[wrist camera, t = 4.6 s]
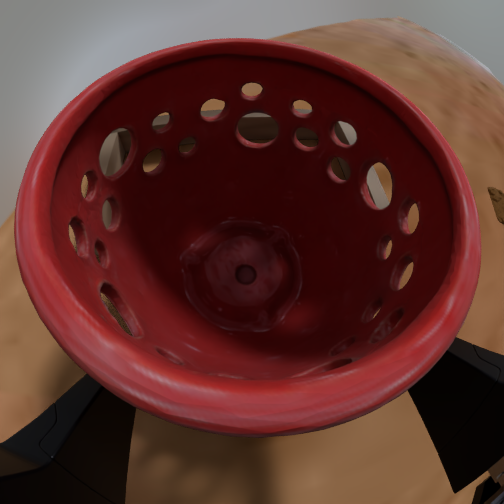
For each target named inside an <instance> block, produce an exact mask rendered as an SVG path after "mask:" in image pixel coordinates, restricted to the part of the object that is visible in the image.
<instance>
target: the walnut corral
mask: <svg viewBox="0 0 504 504" xmlns="http://www.w3.org/2000/svg"><path fill="white" fill-rule="evenodd" d="M295 110H297V111H298V112H300V113H303V114H308V113H310V112H311V111H312V110H304V109H295ZM221 111H222V110H210V111H201V115H202V116H204V117H212V116H215V115H217V114H219V113H220V112H221ZM168 122H169V115H164V116H157V117H156V118H155V119H154V121H153V125H152V127H153V129H154V130H159V129H161V128H163V127H165V126H166V124H167V123H168ZM238 131H239V134H240V135H241V136H242V137H243V138H244V139H245V140H255V139H274V138H275V137H276V136H277V134H278V126H277V123H276V122H275V120H274V119H273V118H272V117H271V116H269V115H267V114H264V113H250V114H247V115H245V116H243V117H242V118H241V119H240V120H239V122H238ZM334 131H335V134H336V136H337V138H338V139H339V140H340V142H342V143H343V144H346V145H352V144H354V143H355V141H356V139H357V137H356V132H355V130H354V128H353V127H352V126H351V125H349V124H348V123H345V122H342V121H338V122H336V124H335V126H334ZM296 138H297V139H309V140H319V139H318V136H317V135H316V133H314V132H313V131H311V130H309V129H307V128H302V127H301V128H298V129H297V131H296ZM193 143H195V139H194V138H192V137H188V138H185V139H183V140H182V141H181V142H180V144H179V145H183V144H193ZM130 148H131V136H130V133H129V132H128V130H127V129H124V128H119V129H116V130H115V131H113V132H112V133H110V134H109V136H108V137H107V138H106V139H105V141H104V143H103V145H102V148H101V151H100V156H99V160H100V166H101V169H102V171H103V174H104V175H105V176H110V175H113V174H114V173H116V172H117V171H118V170H119V169H120V168H121V167H122V165H123V162H124V158H125V153H127V152H130ZM337 158H338V160H339V163H340V165H341V168H342V170H343V173H344V175H345V178H346V180H347V179H348V178H349V176H350V168H349V165H348V164H347V163H346V162H345V161H344V160H343V159H341V158H340V157H337ZM367 188H368V192H369V195H370V197H371V199H372V201H373V203H374V204H375V205H376V206H377V207H378V208H379V209H383V208H385V207H387V206H388V205H389V202H388V199H387V197H386V194H385V192H384V190H383V187H382V185H381V183H380V180H379V178H378V176H377V174H376V171H375V169H374V167H373V166H372V167H371V168H370V170H369V172H368V175H367ZM102 216H103V222H104V224H105V227H106V229H108V227H109V225H110V222H111V206H110V204H109V202H108V201H107V200H106V201H105V203H104V205H103V209H102ZM95 255H99V254H98V252H97V250H96V249H95Z"/></svg>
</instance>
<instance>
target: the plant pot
mask: <svg viewBox="0 0 504 504" xmlns="http://www.w3.org/2000/svg"><path fill="white" fill-rule="evenodd" d="M247 83H257V84H260V85H261V86H262V88H263V90H262V92H261V93H260V94H258V95H257V96H247V95H245V94H244V93H243V92H242V87H243V86H244V85H245V84H247ZM210 99H218V100H222V101H224V102H225V107H224V109H223V110H222V111H221V112H220V113H219V114H217V115H215V116H212V117H204V116H202V115H201V107H202V105H203V104H204V103H205V102H206V101H208V100H210ZM297 100H304V101H306V102H308V103H309V104H310V105H311V106H312V111H311V112H310V113H308V114H303V113H300V112H298V111H297V110H295V109H294V106H293V103H294V102H295V101H297ZM164 112H167V113H169V122H168V123H167V124H166V126H165V127H163V128H161V129H159V130H154V129H153V127H152V125H153V121H154V119H155V118H156V117H157V116H158V115H159V114H161V113H164ZM250 113H264V114H267V115H269V116H271V117H272V118H273V119H274V120H275V122H276V123H277V126H278V134H277V136H276V137H275V138H274V139H273V140H272V141H270V142H267V143H261V144H258V143H252V142H249V141H247V140H245V139H244V138H243V137H242V136H241V135H240V134H239V131H238V122H239V120H240V119H241V118H242V117H243V116H245V115H247V114H250ZM338 121H342V122H345V123H348V124H349V125H351V126H352V127H353V128H354V130H355V132H356V137H357V139H356V141H355V143H354V144H352V145H346V144H343V143H342V142H340V140H339V139H338V138H337V136H336V134H335V131H334V126H335V124H336V122H338ZM301 127H302V128H307V129H309V130H311V131H313V132H314V133H316V135H317V136H318V139H319V140H318V144H317V145H316V146H315V147H307V146H304V145H302V144H301V143H300V142H299V141H298V140H297V138H296V131H297V129H298V128H301ZM119 128H124V129H127V130H128V132H129V133H130V136H131V148H130V152H129V154H128V156H127V159H126V161H125V162H124V164H123V165H122V167H121V168H120V169H119V170H118V171H117V172H116V173H114V174H113V175H110V176H105V175H104V174H103V171H102V169H101V166H100V160H99V156H100V151H101V148H102V145H103V143H104V141H105V139H106V138H107V137H108V136H109V134H110V133H112V132H113V131H115V130H116V129H119ZM188 137H192V138H194V139H195V145H194V147H193V148H192V149H191V150H190V151H189V152H186V153H184V152H180V151H179V144H180V142H181V141H182V140H183V139H185V138H188ZM154 149H160V150H161V154H162V158H161V161H160V163H159V165H158V166H157V167H156V168H155V169H154V170H152V171H150V172H144V170H143V159H144V158H145V156H146V155H147V154H148V153H149V152H150V151H152V150H154ZM334 157H340V158H341V159H343V160H344V161H345V162H346V163H347V164H348V165H349V168H350V176H349V178H348V179H347V180H341V179H339V178H338V177H336V176H335V174H334V173H333V171H332V169H331V161H332V159H333V158H334ZM378 162H380V163H382V164H384V165H385V166H386V168H387V169H388V170H389V172H390V174H391V179H392V198H391V202H390V204H389V205H388V206H387V207H385V208H383V209H379V208H378V207H377V206H376V205H375V204H374V203H373V201H372V199H371V197H370V195H369V192H368V188H367V175H368V172H369V170H370V168H371V167H372V166H373V165H374V164H375V163H378ZM84 175H86V176H87V180H88V190H87V194H86V198H84V197H83V196H82V192H81V183H82V179H83V177H84ZM106 200H107V201H108V202H109V204H110V206H111V222H110V225H109V227H108V229H106V227H105V224H104V222H103V216H102V209H103V205H104V203H105V201H106ZM414 203H416V204H417V207H418V211H419V222H418V225H417V227H416V229H415V231H414V232H413V233H412V234H411V233H410V231H409V228H408V214H409V210H410V208H411V206H412V205H413V204H414ZM69 224H70V226H71V227H72V229H73V232H74V234H75V239H76V244H77V253H76V251H75V249H74V246H73V244H72V243H71V241H70V237H69ZM14 236H15V247H16V255H17V261H18V265H19V269H20V273H21V277H22V281H23V283H24V285H25V287H26V289H27V291H28V294H29V297H30V299H31V301H32V303H33V305H34V307H35V309H36V311H37V313H38V315H39V317H40V319H41V320H42V322H43V323H44V325H45V326H46V328H47V329H48V330H49V332H50V333H51V335H52V336H53V338H54V339H55V340H56V342H57V343H58V344H59V346H60V347H61V348H62V349H63V350H64V351H65V353H66V354H67V355H68V356H69V357H70V358H71V359H72V360H73V361H74V362H75V363H76V364H77V365H78V366H79V367H80V368H81V369H82V370H84V371H85V372H86V373H87V374H88V375H89V376H91V377H92V378H93V379H94V380H96V381H97V382H98V383H100V384H101V385H102V386H103V387H105V388H106V389H107V390H109V391H110V392H112V393H113V394H114V395H116V396H117V397H119V398H121V399H122V400H124V401H125V402H127V403H129V404H130V405H132V406H134V407H136V408H138V409H140V410H142V411H144V412H147V413H149V414H151V415H153V416H156V417H158V418H161V419H163V420H165V421H168V422H170V423H173V424H176V425H180V426H183V427H187V428H191V429H195V430H199V431H203V432H208V433H214V434H220V435H226V436H234V437H254V438H263V437H273V436H288V435H296V434H303V433H308V432H314V431H319V430H324V429H327V428H331V427H334V426H337V425H340V424H343V423H346V422H349V421H352V420H354V419H356V418H359V417H361V416H364V415H366V414H368V413H370V412H373V411H374V410H376V409H378V408H380V407H382V406H383V405H385V404H387V403H389V402H390V401H392V400H394V399H395V398H397V397H399V396H400V395H401V394H403V393H404V392H406V391H407V390H408V389H410V388H411V387H412V386H413V385H414V384H415V383H417V382H418V381H419V380H420V379H421V378H422V377H423V376H425V375H426V374H427V373H428V372H429V371H430V370H431V368H432V367H433V366H434V365H435V364H436V363H437V362H438V361H439V359H440V358H441V357H442V356H443V355H444V353H445V352H446V351H447V349H448V348H449V347H450V345H451V344H452V343H453V341H454V339H455V337H456V335H457V333H458V332H459V330H460V328H461V327H462V325H463V323H464V321H465V319H466V316H467V314H468V311H469V309H470V306H471V304H472V301H473V297H474V294H475V291H476V288H477V283H478V278H479V272H480V264H481V234H480V224H479V216H478V211H477V207H476V203H475V199H474V195H473V192H472V189H471V187H470V184H469V181H468V179H467V176H466V174H465V172H464V169H463V167H462V165H461V163H460V161H459V159H458V158H457V156H456V154H455V153H454V151H453V150H452V148H451V147H450V145H449V143H448V142H447V141H446V139H445V138H444V137H443V135H442V134H441V133H440V131H439V130H438V129H437V128H436V126H435V125H434V124H433V123H432V122H431V121H430V120H429V119H428V117H427V116H426V115H425V114H424V113H423V112H422V111H421V110H420V109H419V108H418V107H417V106H415V105H414V104H413V103H412V102H411V101H410V100H409V99H407V98H406V97H405V96H404V95H403V94H401V93H400V92H399V91H397V90H396V89H395V88H393V87H392V86H391V85H389V84H388V83H386V82H385V81H383V80H382V79H380V78H378V77H377V76H375V75H373V74H372V73H370V72H368V71H366V70H365V69H363V68H361V67H359V66H357V65H354V64H352V63H350V62H347V61H345V60H343V59H340V58H338V57H336V56H333V55H331V54H328V53H325V52H321V51H318V50H315V49H311V48H308V47H305V46H300V45H296V44H291V43H286V42H279V41H272V40H263V39H247V38H232V39H231V38H229V39H212V40H204V41H198V42H192V43H186V44H181V45H177V46H173V47H170V48H166V49H163V50H159V51H156V52H152V53H149V54H147V55H144V56H142V57H139V58H137V59H134V60H132V61H130V62H128V63H126V64H124V65H122V66H120V67H118V68H116V69H114V70H113V71H111V72H109V73H108V74H106V75H104V76H102V77H101V78H99V79H98V80H96V81H95V82H94V83H92V84H91V85H90V86H88V87H87V88H86V89H85V90H84V91H82V92H81V93H80V94H79V95H78V96H77V97H75V98H74V99H73V100H72V101H70V103H68V105H67V106H66V107H65V108H64V109H63V110H62V111H61V112H60V113H59V114H58V115H57V117H56V118H55V119H54V120H53V122H52V123H51V124H50V126H49V127H48V128H47V130H46V131H45V133H44V134H43V136H42V137H41V139H40V141H39V142H38V144H37V146H36V148H35V150H34V151H33V153H32V156H31V158H30V160H29V162H28V165H27V168H26V170H25V173H24V176H23V180H22V183H21V186H20V189H19V193H18V197H17V202H16V209H15V223H14ZM390 240H392V249H391V253H390V255H389V257H388V258H387V259H386V248H387V245H388V243H389V241H390ZM95 249H96V250H97V252H98V254H99V259H100V264H99V262H98V260H97V258H96V255H95ZM411 262H413V264H414V266H413V272H412V275H411V277H410V279H409V281H408V282H407V284H406V285H405V286H404V287H403V288H402V289H400V290H399V287H400V281H401V278H402V275H403V273H404V271H405V269H406V268H407V266H408V265H409V264H410V263H411ZM100 292H101V293H103V294H104V295H105V296H106V297H107V298H108V299H109V300H110V302H111V303H112V304H113V305H114V307H115V308H116V309H117V311H118V313H119V314H120V316H121V317H122V319H123V320H124V321H125V323H126V324H127V327H128V328H129V330H130V332H131V334H132V336H131V335H129V334H128V333H126V332H125V331H124V330H123V329H122V328H121V326H120V325H119V323H118V321H117V320H116V319H115V318H114V317H113V316H112V315H111V314H110V312H109V310H108V307H107V306H106V305H105V303H104V301H103V300H102V299H101V293H100ZM380 308H381V309H380ZM379 309H380V310H379ZM378 310H379V312H378V314H377V315H376V316H375V318H373V317H374V315H375V314H376V312H377V311H378Z"/></svg>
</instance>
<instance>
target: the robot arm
mask: <svg viewBox="0 0 504 504" xmlns="http://www.w3.org/2000/svg"><path fill="white" fill-rule="evenodd" d="M408 392H409V394H410V396H411V398H412V400H413V402H414V404H415V406H416V408H417V410H418V412H419V414H420V416H421V418H422V420H423V422H424V424H425V426H426V428H427V431H428V433H429V435H430V437H431V439H432V441H433V444H434V446H435V448H436V450H437V453H438V455H439V458H440V460H441V462H442V465H443V467H444V469H445V472H446V474H447V477H448V479H449V482H450V484H451V487H452V490H453V492H454V494H455V493H457V492H459V491H460V490H462V489H463V488H464V487H466V486H467V485H469V484H470V483H471V482H473V481H474V480H476V479H477V478H478V477H480V476H481V475H482V474H483V473H485V472H486V471H488V472H489V474H490V476H489V477H488V478H486V479H485V480H484V481H483V482H482V483H481V484H479V485H478V486H477V487H476V490H475V494H474V498H473V501H472V504H504V355H501V354H498V353H495V352H492V351H489V350H487V349H484V348H481V347H479V346H476V345H474V344H473V345H472V344H471V343H469V342H466V341H464V340H462V339H459V338H457V337H455V339H454V341H453V343H452V344H451V345H450V347H449V348H448V349H447V351H446V352H445V353H444V355H443V356H442V357H441V358H440V359H439V361H438V362H437V363H436V364H435V365H434V366H433V367H432V368H431V370H430V371H429V372H428V373H427V374H426V375H425V376H423V377H422V378H421V379H420V380H419V381H418V382H417V383H415V384H414V385H413V386H412V387H411V388H410V389H408ZM135 412H136V407H134V406H132V405H130V404H129V403H127V402H125V401H124V400H122V399H121V398H119V397H117V396H116V395H114V394H113V393H112V392H110V391H109V390H107V389H106V388H105V387H103V386H102V385H101V384H100V383H98V382H97V381H96V380H94V379H93V378H92V377H91V376H89V375H88V374H86V375H85V376H84V377H82V378H81V379H80V380H79V381H78V382H77V383H76V384H75V385H73V386H72V387H71V388H70V389H69V390H68V391H67V392H66V393H64V394H63V395H62V396H61V397H60V398H59V399H58V400H57V401H56V402H55V403H53V404H52V405H51V406H50V407H49V408H48V409H46V410H45V411H44V412H43V413H42V414H41V415H39V416H38V417H37V418H36V419H34V420H33V421H32V422H31V423H29V424H28V425H27V426H25V427H24V428H22V429H21V430H20V431H18V432H17V433H16V434H14V435H13V436H12V437H10V438H9V439H7V440H6V441H4V442H2V443H0V504H125V495H126V482H127V471H128V462H129V453H130V445H131V438H132V431H133V424H134V418H135Z"/></svg>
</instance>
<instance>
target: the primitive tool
mask: <svg viewBox="0 0 504 504" xmlns="http://www.w3.org/2000/svg"><path fill="white" fill-rule="evenodd" d="M488 191H489V194H490V198H491V201H492V204H493V207H494V210H495V213H496V216H497V219H498V220H499V222H501V223H503V224H504V194H503V192H502V191H501V190H497V189H496V188H493V187H488Z"/></svg>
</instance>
